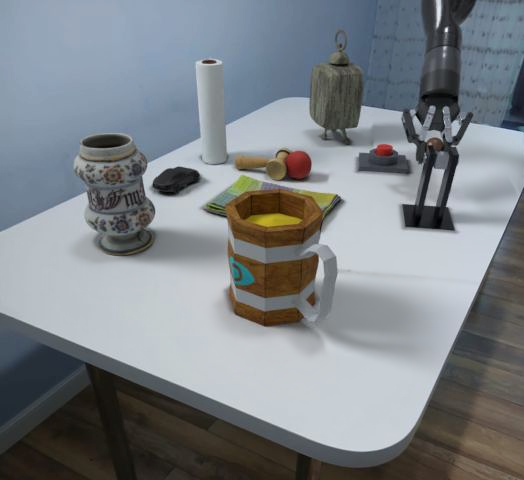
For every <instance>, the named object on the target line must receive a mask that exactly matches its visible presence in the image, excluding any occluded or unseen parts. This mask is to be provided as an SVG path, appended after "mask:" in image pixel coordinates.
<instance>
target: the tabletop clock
mask: <svg viewBox="0 0 524 480" xmlns="http://www.w3.org/2000/svg"><path fill="white" fill-rule="evenodd" d="M339 34H342V36H343V40H344V45H343V43H342V42H339V43H338V36H339ZM347 44H348V36H347V33H346V31H344V29H341V28H339V29H338V30H336V32H335V37H334V45H335V48H336V49H337V51H334V52H333V53H331V55H330V56H329V58H328V61H327V62H319V63H318V64H316V65H315V66H313V68H312V69H311V74H310V84H309V85H310V86H309V107H308V109H309V111H308V112H309V116H310V118H311V120H312V121H313V122H314V123H315V124H317V125H318V126H319V127H321V128H323V129H324V132H323V133H321V135H320V138H321V140H323V141H325V140H327V138H328V135H327V133H328V131H331V132H333V133H335V132H336V131H337V130H339V131H340V132H341V133H342V134H343V136H344V138H345V139H344V143H345V145H351V143H352V140H351V138H350V137H348V135H347V132H346V130H348V129H356V128H358V126H359V122H360V118H361V111H362V105H363V96H364V81H365V79H364V78H365V75H364V71H363V70H362V68H361V67H360V66H359V65H357V64H356V63H355V62H352V61H350V59H349V56H348V54H347V53H346V52H345V50H346V47H347Z"/></svg>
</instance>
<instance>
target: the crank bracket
mask: <svg viewBox="0 0 524 480" xmlns="http://www.w3.org/2000/svg"><path fill="white" fill-rule="evenodd" d="M435 155H436V153H435V150H434V147H433V146H431V145H428V146H427V151H426V153H425V155H424V158H423V163H422V169H421V174H420V179H419V184H418V188H417V192H416V196H415V202H414V204H410V203H401V206H402V213H403V214H402V215H403V221H404V227H405V228H410V229H411V228H412V229H425V230H439V231H450V232H451V231H453V232H455V230H456V229H455V226H454V223H453V220H452V215H451V213H450V212H451V211H450V209H449V207H448V206H447V205H448V201H449V197H450V194H451V190H452V186H453V182H454V178H455V175H456V171H457V166H458V165H459V162H460V154H459V151H458V149H457V146H451V147H450V150H449V155H450V157H449V161H448V166H447V169H446V170H443V174H442V179H441V183H440V187H439V191H438V194H437V199H436V203H435V205H425V203H426V198H427V194H428V190H429V185H430V181H431V177H432V172H433V169H434V167H433V164H434V160H435Z"/></svg>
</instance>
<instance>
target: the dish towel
mask: <svg viewBox="0 0 524 480" xmlns="http://www.w3.org/2000/svg"><path fill="white" fill-rule="evenodd" d="M280 188H281V189H285V190H289V191H292V192H296V193H300V194H304V195H308V196H312V197H313V198H314V200H315V201H316V203H317V204H318V205H319V207H320V208H321V210H322V211H323V217H322V222H323V220H324V218H325V217H326V215H328V213H329V212H330V210H331V209H332V208H334V206H335V205H336V203H337V202H341V201H342V197H341V196H340V195H339V194H338V193H330V192H319V191H318V192H317V191H310V190H305V189H298V188H294V187H293V188H292V187H288V186H284V185H280V184H277V183H271V182H267V181H264V180H258V179H256V178H253V177H250V176H247V175H245V174H241V175H240V176H239V178H238V179H237V180H236V181H235V182H234V183H233V185H232V186H230V187H229V188H228V189H227V190H226V191H225V192H224V193H221V194H219V196H217V197H216V198H214V199H212V200H211V201H208V202H207V203H206V205H205V206H204V207H203V209H202V210H203V211H205V212H207V213H208V212H209V213H212V214H216V215H221V216H225V217H227V214H226V209H225V204H227V203H228V202H230V201H232V200H233V199H235V198H236V197H238V196H240V195H241V194H243V193H244V192H247V191H258V190H269V189H280Z"/></svg>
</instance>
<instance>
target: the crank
mask: <svg viewBox="0 0 524 480" xmlns="http://www.w3.org/2000/svg"><path fill="white" fill-rule="evenodd" d="M425 142H426V145H425V154H426V151H427V146H428V145H431V146H433V147H434V150H435V153H436V155H435V160H434V164H433V169H434V170H443V171H445V170H446V169H447V166H448V161H449V157H450V155H449V154H448V152H442V150H443V146H444V145H443V142H442V138H439V137H436V136H435V137H434V136H433V137H430V138H429V139H427V140H426V141H425Z"/></svg>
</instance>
